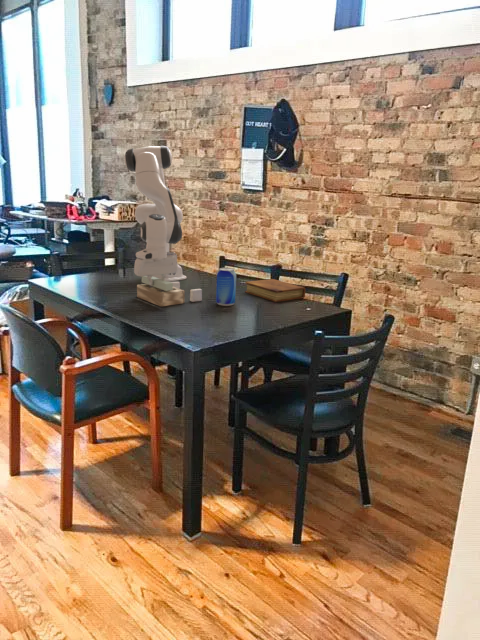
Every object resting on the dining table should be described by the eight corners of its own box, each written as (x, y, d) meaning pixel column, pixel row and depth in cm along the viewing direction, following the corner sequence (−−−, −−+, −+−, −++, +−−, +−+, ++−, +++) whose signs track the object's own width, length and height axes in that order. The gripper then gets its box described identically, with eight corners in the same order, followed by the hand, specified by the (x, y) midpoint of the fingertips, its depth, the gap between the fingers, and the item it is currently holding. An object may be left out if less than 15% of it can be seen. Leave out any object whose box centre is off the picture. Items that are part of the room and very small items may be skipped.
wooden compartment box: (160, 295, 245) (160, 282, 244) (184, 304, 231) (184, 290, 229) (137, 297, 238) (137, 284, 236) (160, 307, 223) (161, 293, 221)
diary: (304, 298, 254) (305, 287, 252) (276, 303, 243) (276, 291, 241) (272, 289, 271) (273, 278, 270) (244, 293, 260) (245, 281, 258)
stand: (177, 292, 251) (177, 281, 249) (201, 301, 237) (202, 289, 235) (168, 294, 248) (168, 282, 246) (192, 302, 234) (192, 290, 232)
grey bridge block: (148, 292, 241) (148, 274, 239) (172, 301, 226) (172, 283, 224) (141, 293, 238) (141, 275, 236) (165, 302, 224) (165, 283, 222)
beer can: (237, 303, 235) (239, 268, 231) (231, 308, 228) (232, 271, 223) (220, 301, 238) (221, 266, 234) (213, 305, 230) (214, 269, 226)
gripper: (173, 250, 236) (172, 281, 240) (132, 253, 223) (132, 285, 227) (180, 252, 231) (180, 283, 235) (139, 255, 218) (139, 288, 222)
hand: (156, 284), depth 231 cm, fingers closed on grey bridge block, 3 cm apart
